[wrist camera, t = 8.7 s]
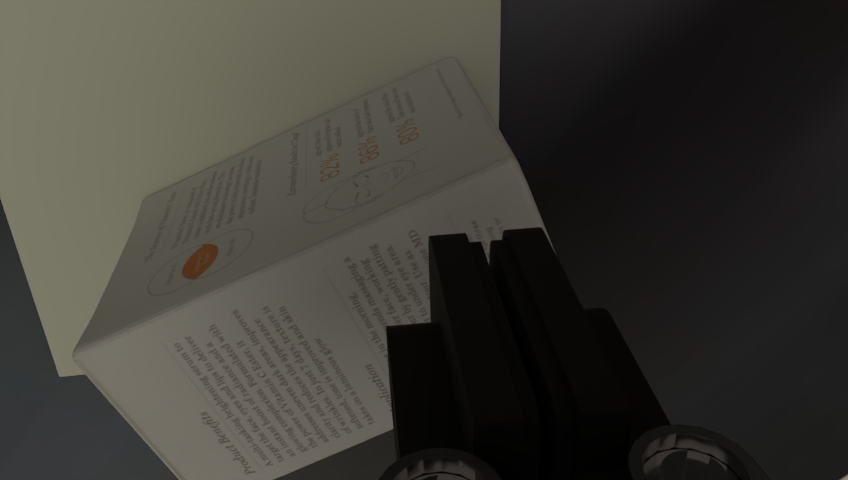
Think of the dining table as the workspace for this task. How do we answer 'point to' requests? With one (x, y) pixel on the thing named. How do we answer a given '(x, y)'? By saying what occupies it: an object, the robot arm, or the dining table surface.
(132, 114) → the mat
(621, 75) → the dining table surface
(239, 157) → the small box
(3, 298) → the dining table surface
